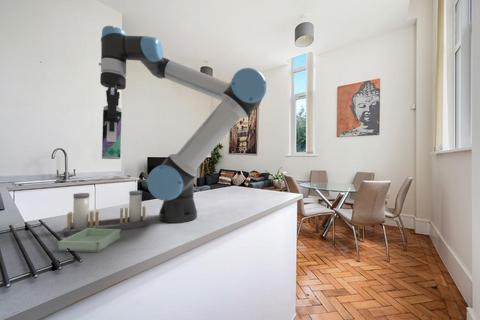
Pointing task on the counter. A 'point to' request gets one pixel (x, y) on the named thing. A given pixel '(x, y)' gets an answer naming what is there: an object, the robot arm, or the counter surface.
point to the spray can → (114, 148)
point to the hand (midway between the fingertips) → (111, 142)
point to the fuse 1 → (80, 210)
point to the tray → (90, 240)
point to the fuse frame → (106, 222)
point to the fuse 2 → (135, 206)
